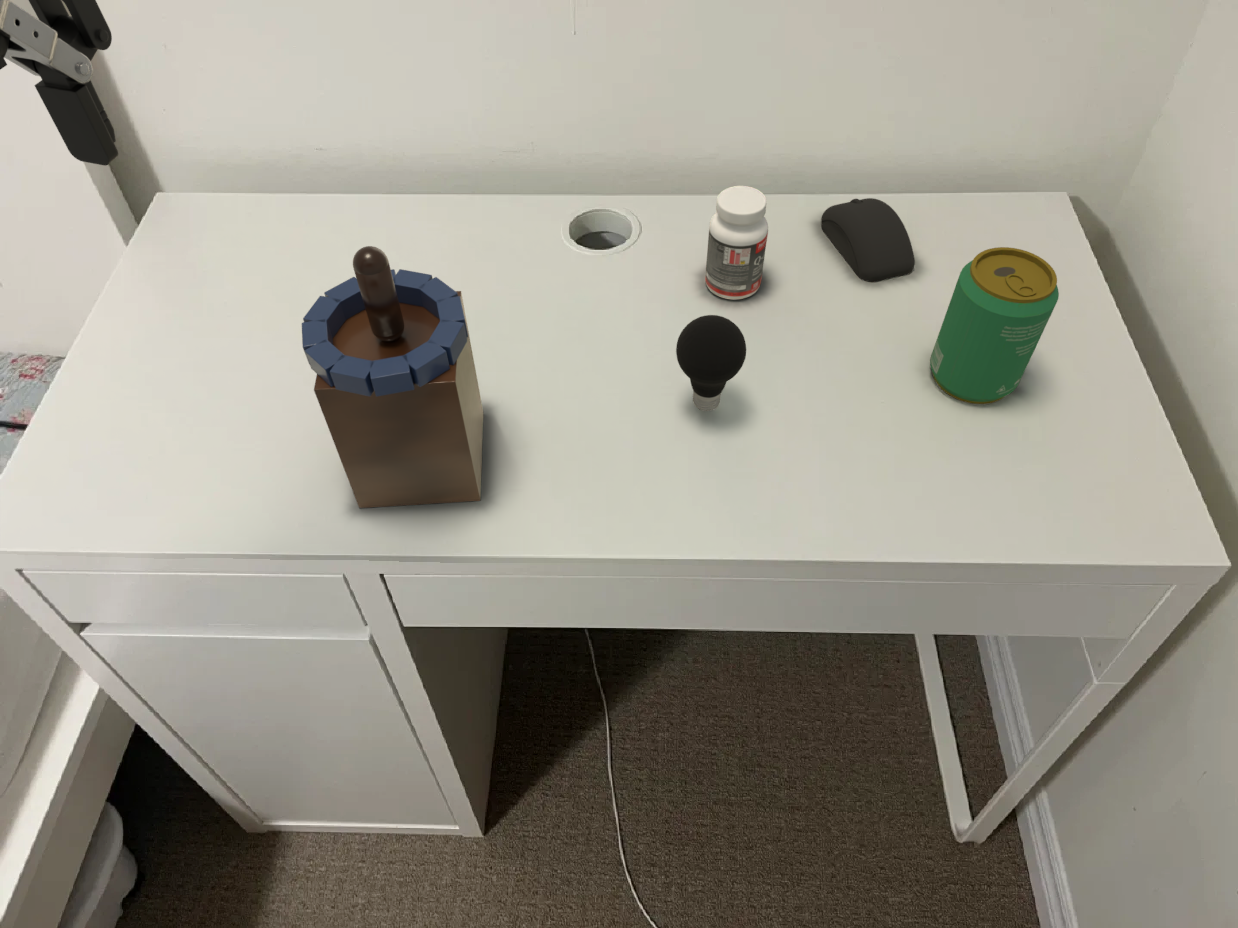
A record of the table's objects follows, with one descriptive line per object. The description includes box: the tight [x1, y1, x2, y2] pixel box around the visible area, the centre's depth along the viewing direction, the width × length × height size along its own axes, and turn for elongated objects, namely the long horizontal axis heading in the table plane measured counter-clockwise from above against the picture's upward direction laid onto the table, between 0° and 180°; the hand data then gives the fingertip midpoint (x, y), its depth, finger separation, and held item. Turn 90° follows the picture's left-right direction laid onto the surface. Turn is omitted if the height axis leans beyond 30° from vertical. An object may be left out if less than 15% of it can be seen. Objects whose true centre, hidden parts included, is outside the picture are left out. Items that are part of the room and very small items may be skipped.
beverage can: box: [929, 246, 1060, 405], centre depth 79 cm, size 8×8×12 cm
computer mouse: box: [820, 197, 916, 283], centre depth 95 cm, size 6×11×4 cm, turn 18°
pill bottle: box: [704, 185, 769, 300], centre depth 89 cm, size 6×6×10 cm
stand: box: [313, 245, 484, 509], centre depth 70 cm, size 10×10×22 cm
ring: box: [301, 268, 468, 396], centre depth 67 cm, size 12×12×2 cm
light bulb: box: [675, 314, 747, 412], centre depth 78 cm, size 6×6×10 cm
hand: (36, 211), depth 41 cm, fingers open, 8 cm apart
